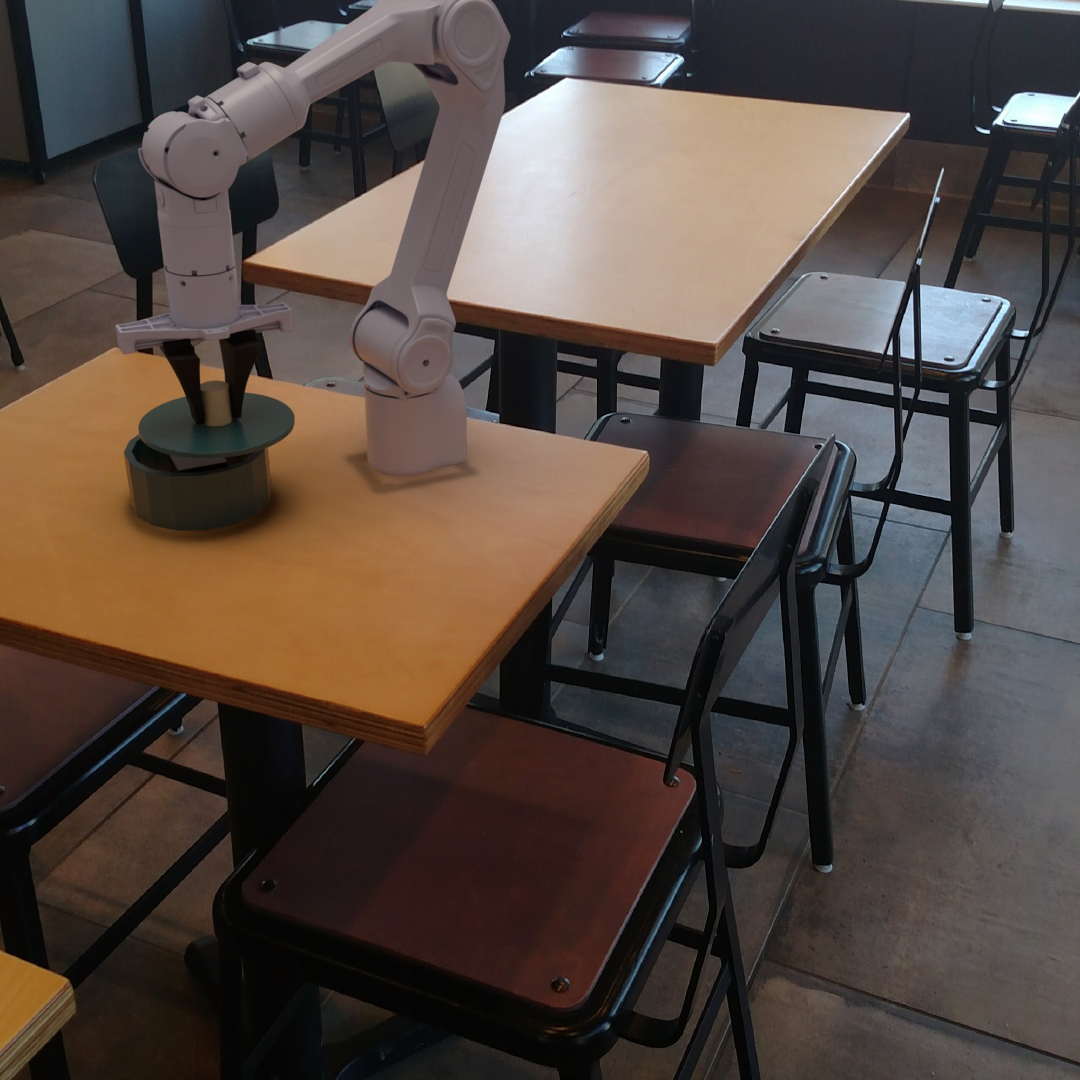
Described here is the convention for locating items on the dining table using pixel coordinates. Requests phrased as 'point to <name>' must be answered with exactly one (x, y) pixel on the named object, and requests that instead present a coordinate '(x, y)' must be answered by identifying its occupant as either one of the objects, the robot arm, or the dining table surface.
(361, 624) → the dining table surface
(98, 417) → the dining table surface
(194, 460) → the block
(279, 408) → the cover
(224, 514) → the container
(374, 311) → the robot arm
